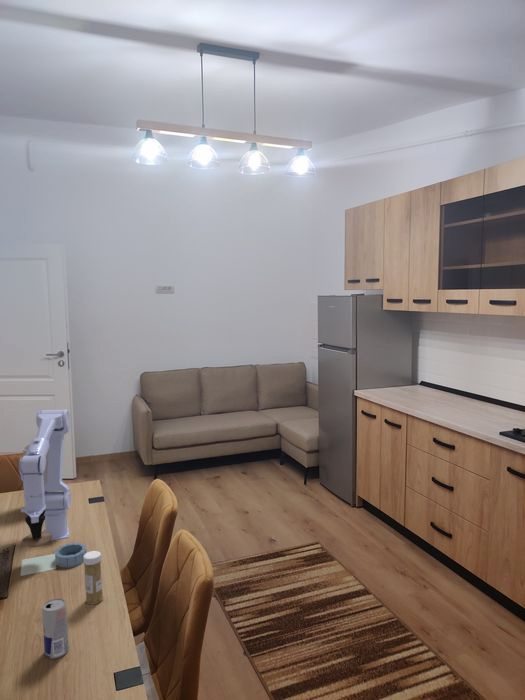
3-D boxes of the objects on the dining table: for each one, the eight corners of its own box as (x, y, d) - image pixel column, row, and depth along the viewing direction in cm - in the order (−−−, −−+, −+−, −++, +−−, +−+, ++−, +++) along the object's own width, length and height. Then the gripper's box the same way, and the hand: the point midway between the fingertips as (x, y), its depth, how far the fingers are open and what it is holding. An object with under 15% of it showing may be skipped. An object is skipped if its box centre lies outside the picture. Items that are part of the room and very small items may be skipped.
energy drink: (48, 644, 127) (45, 598, 126) (71, 643, 128) (68, 597, 126) (41, 660, 122) (38, 612, 121) (65, 658, 122) (62, 610, 121)
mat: (22, 560, 166) (21, 559, 166) (55, 554, 170) (55, 553, 170) (20, 576, 157) (20, 575, 157) (56, 569, 161) (56, 568, 161)
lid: (22, 537, 165) (21, 524, 164) (51, 532, 168) (50, 519, 168) (21, 549, 157) (21, 535, 157) (52, 543, 160) (51, 530, 160)
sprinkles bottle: (105, 601, 145) (102, 555, 143) (88, 607, 142) (85, 560, 140) (100, 593, 148) (98, 548, 147) (83, 598, 146) (81, 553, 144)
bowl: (55, 556, 169) (54, 546, 168) (85, 550, 172) (85, 540, 172) (56, 570, 160) (55, 559, 160) (87, 564, 164) (87, 553, 163)
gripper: (20, 487, 166) (23, 527, 168) (18, 504, 153) (21, 548, 154) (45, 483, 169) (47, 523, 170) (44, 500, 155) (47, 544, 157)
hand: (36, 535), depth 162 cm, fingers closed on lid, 3 cm apart
